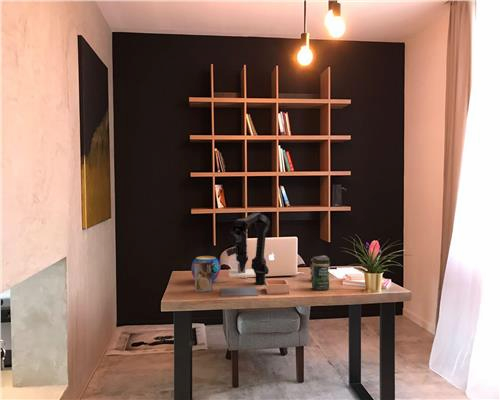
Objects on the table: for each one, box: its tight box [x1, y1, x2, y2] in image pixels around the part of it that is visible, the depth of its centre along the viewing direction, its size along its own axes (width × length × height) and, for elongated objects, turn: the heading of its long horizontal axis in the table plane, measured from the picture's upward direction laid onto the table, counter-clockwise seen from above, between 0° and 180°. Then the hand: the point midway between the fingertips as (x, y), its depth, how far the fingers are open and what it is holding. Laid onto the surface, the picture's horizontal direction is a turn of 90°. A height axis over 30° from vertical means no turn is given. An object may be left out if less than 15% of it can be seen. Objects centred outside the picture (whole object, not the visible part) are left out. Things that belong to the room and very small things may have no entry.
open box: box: [264, 279, 290, 295], centre depth 235 cm, size 12×12×5 cm
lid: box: [228, 262, 256, 278], centre depth 233 cm, size 14×14×6 cm
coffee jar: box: [311, 255, 331, 291], centre depth 239 cm, size 10×8×19 cm
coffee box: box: [194, 261, 213, 293], centre depth 237 cm, size 9×6×16 cm
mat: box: [220, 286, 259, 297], centre depth 233 cm, size 17×20×1 cm
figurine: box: [309, 255, 330, 280], centre depth 259 cm, size 9×12×15 cm
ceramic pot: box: [191, 255, 221, 282], centre depth 257 cm, size 18×18×15 cm
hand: (241, 270), depth 233 cm, fingers closed on lid, 4 cm apart
